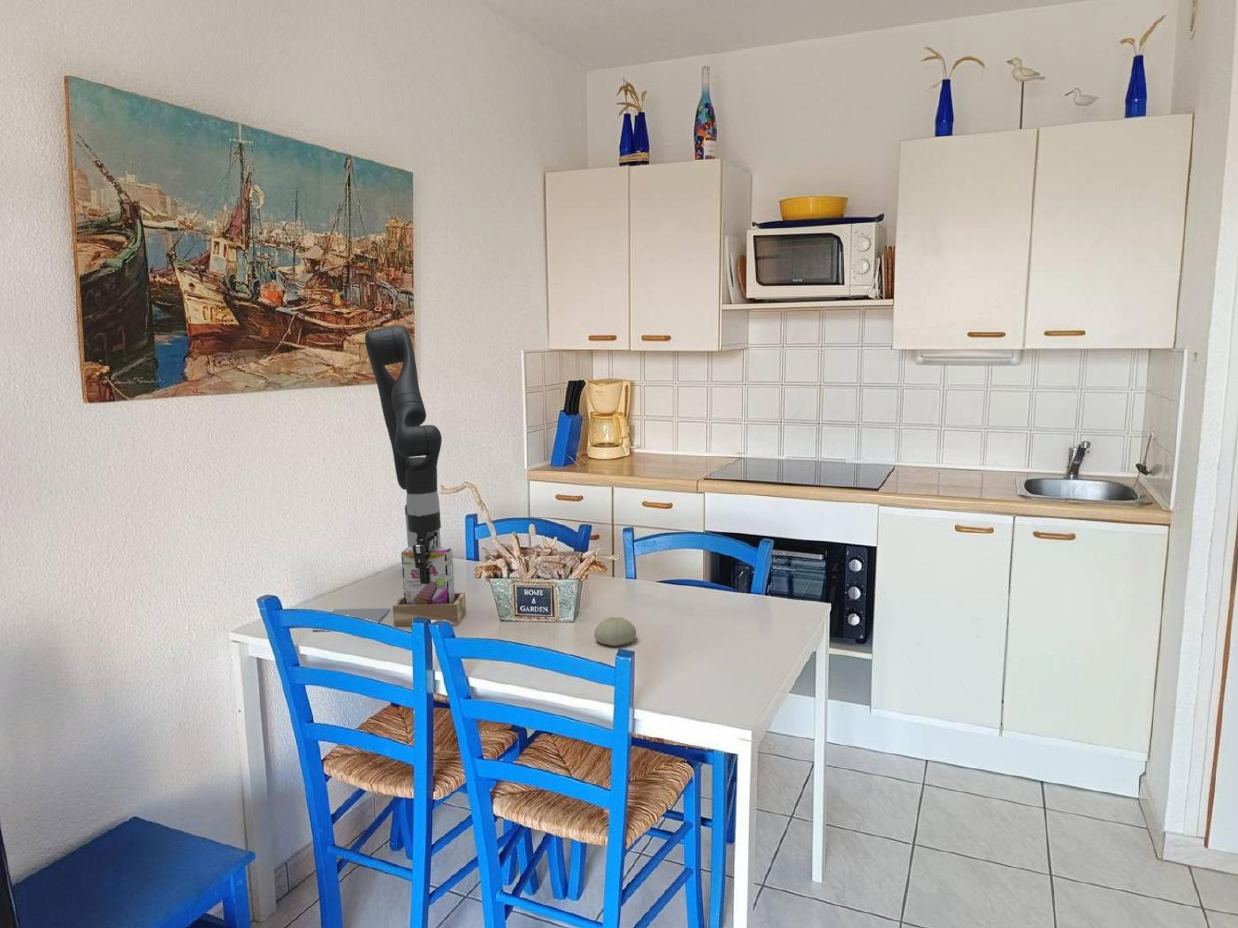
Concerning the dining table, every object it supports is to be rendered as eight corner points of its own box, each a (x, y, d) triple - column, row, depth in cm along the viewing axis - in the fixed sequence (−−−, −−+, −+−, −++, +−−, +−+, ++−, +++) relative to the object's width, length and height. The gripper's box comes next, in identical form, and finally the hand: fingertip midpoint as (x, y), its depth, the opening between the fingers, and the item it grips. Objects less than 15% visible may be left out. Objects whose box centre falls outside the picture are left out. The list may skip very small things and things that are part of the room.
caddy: (405, 613, 210) (403, 593, 209) (466, 612, 210) (464, 592, 209) (394, 626, 201) (392, 605, 200) (457, 625, 201) (456, 604, 200)
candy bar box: (404, 619, 204) (399, 552, 201) (411, 611, 209) (407, 546, 206) (450, 619, 203) (446, 551, 200) (456, 611, 208) (452, 546, 205)
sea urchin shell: (636, 622, 193) (635, 607, 186) (636, 656, 188) (636, 641, 182) (595, 623, 193) (593, 607, 186) (595, 656, 188) (593, 641, 182)
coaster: (334, 611, 213) (334, 609, 213) (390, 610, 213) (390, 608, 213) (312, 631, 200) (312, 628, 200) (372, 630, 199) (371, 627, 199)
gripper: (415, 504, 208) (420, 571, 211) (398, 517, 194) (404, 589, 197) (446, 503, 208) (451, 570, 211) (431, 516, 194) (436, 589, 197)
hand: (428, 579), depth 204 cm, fingers closed on candy bar box, 5 cm apart
